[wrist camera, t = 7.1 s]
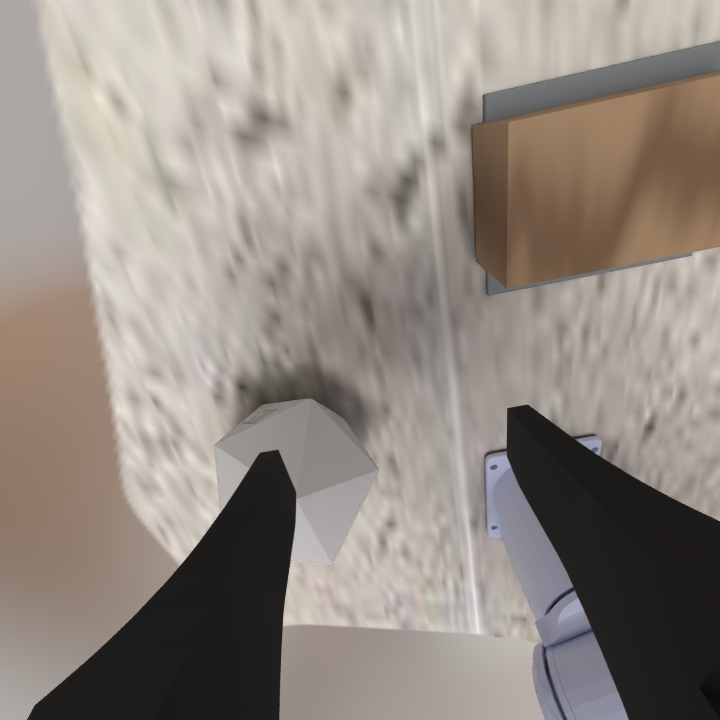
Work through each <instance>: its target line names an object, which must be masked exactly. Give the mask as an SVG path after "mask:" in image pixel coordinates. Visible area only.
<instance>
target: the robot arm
mask: <svg viewBox="0 0 720 720" xmlns="http://www.w3.org/2000/svg"><path fill="white" fill-rule="evenodd" d="M601 447H602V441H601V439H600V438H599V437H597V436H591V437H585V438H579V439H574V438H572V437H571V436H570V435H568V434H567V433H565V432H564V431H563V430H561V429H560V428H559V427H557V426H556V425H555V424H553V423H552V422H551V421H549V420H548V419H546V418H545V417H544V416H542V415H541V414H540V413H538V412H537V411H536V410H534V409H533V408H532V407H530V406H529V405H523V406H517V407H511V408H507V451H504V452H499V453H493V454H489V455H488V456H487V457H486V458H485V478H486V516H487V534H488V537H489V538H492V539H495V538H501V537H502V540H503V542H504V545H505V547H506V550H507V552H508V555H509V557H510V559H511V562H512V564H513V567H514V569H515V572H516V574H517V577H518V579H519V582H520V584H521V587H522V589H523V591H524V594H525V596H526V599H527V601H528V604H529V606H530V608H531V610H532V612H533V614H534V615H535V617H536V618H537V621H536V622H535V625H536V627H537V630H538V632H539V635H540V637H541V640H542V642H541V643H538V644H537V645H536V646H535V648H534V651H533V665H532V673H533V681H534V686H535V691H536V694H537V698H538V701H539V704H540V707H541V710H542V712H543V715H544V718H545V720H720V521H718V520H716V519H714V518H712V517H710V516H707V515H705V514H703V513H701V512H699V511H697V510H695V509H693V508H690V507H688V506H686V505H684V504H682V503H680V502H678V501H676V500H674V499H673V498H671V497H669V496H667V495H665V494H663V493H661V492H659V491H658V490H656V489H654V488H652V487H650V486H648V485H647V484H645V483H643V482H641V481H639V480H638V479H636V478H634V477H632V476H631V475H629V474H627V473H626V472H624V471H622V470H621V469H619V468H618V467H616V466H614V465H613V464H611V463H610V462H608V461H606V460H605V459H603V458H602V457H600V452H601ZM492 465H493V466H492ZM295 525H296V490H295V488H294V486H293V483H292V481H291V478H290V476H289V474H288V471H287V469H286V466H285V464H284V462H283V459H282V457H281V454H280V452H279V450H278V449H277V450H272V451H266V452H261V453H259V454H258V456H257V457H256V459H255V460H254V462H253V464H252V465H251V467H250V468H249V470H248V472H247V473H246V475H245V476H244V478H243V479H242V481H241V483H240V484H239V486H238V487H237V489H236V490H235V492H234V493H233V495H232V496H231V498H230V499H229V501H228V502H227V504H226V505H225V507H224V508H223V510H222V511H221V513H220V514H219V516H218V517H217V519H216V520H215V521H214V523H213V524H212V525H211V527H210V528H209V530H208V531H207V532H206V534H205V535H204V536H203V538H202V539H201V541H200V542H199V543H198V544H197V546H196V547H195V548H194V550H193V551H192V552H191V553H190V555H189V556H188V557H187V558H186V560H185V561H184V562H183V563H182V564H181V565H180V567H179V568H178V569H177V570H176V571H175V573H174V574H173V575H172V576H171V577H170V578H169V579H168V581H167V582H166V583H165V584H164V585H163V586H162V587H161V588H160V589H159V590H158V591H157V592H156V593H155V594H154V596H153V597H152V598H151V599H150V600H149V601H148V602H147V603H146V604H145V605H144V606H143V607H142V608H141V609H140V610H139V612H138V613H137V614H136V615H135V616H134V617H133V618H132V619H131V620H129V621H128V623H126V624H125V626H123V627H122V628H121V629H120V630H119V631H118V632H117V633H116V634H115V635H114V636H113V637H112V638H111V639H110V640H109V641H108V642H107V643H106V644H104V645H103V646H102V647H101V648H100V649H99V650H98V651H97V652H96V653H95V654H94V655H93V656H91V657H90V658H89V659H88V660H87V661H86V662H85V663H84V664H83V665H81V666H80V667H79V668H78V669H77V670H76V671H74V672H73V673H72V674H71V675H70V676H69V677H67V678H66V679H65V680H64V681H63V682H62V683H61V684H59V685H58V686H57V687H56V688H55V689H54V690H52V691H51V692H50V693H49V694H48V695H47V696H45V697H44V698H43V699H42V700H41V701H39V702H38V703H37V704H36V705H35V706H34V708H33V710H32V712H31V713H30V715H29V717H28V719H27V720H279V707H280V703H279V702H280V672H281V646H282V628H283V613H284V603H285V595H286V588H287V581H288V574H289V568H290V561H291V554H292V547H293V540H294V533H295Z"/></svg>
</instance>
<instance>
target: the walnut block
mask: <svg viewBox="0 0 720 720" xmlns="http://www.w3.org/2000/svg"><path fill="white" fill-rule="evenodd" d="M472 135H473V167H474V198H475V230H476V262H478V263H479V264H480V265H481V266H482V267H483V268H484V269H485V270H486V271H487V272H489V273H490V274H491V275H492V276H493V277H494V278H495V279H496V280H497V281H499V282H500V283H501V284H502V285H503V286H504V287H505V288H506V289H508V288H513V287H518V286H523V285H529V284H534V283H539V282H544V281H549V280H554V279H559V278H564V277H569V276H574V275H579V274H584V273H589V272H594V271H599V270H604V269H610V268H615V267H620V266H625V265H630V264H635V263H640V262H645V261H650V260H655V259H660V258H665V257H670V256H675V255H680V254H685V253H690V252H696V251H701V250H706V249H711V248H716V247H720V71H714V72H710V73H705V74H701V75H696V76H692V77H687V78H683V79H678V80H674V81H669V82H665V83H660V84H656V85H651V86H647V87H642V88H638V89H633V90H629V91H624V92H620V93H615V94H611V95H606V96H602V97H597V98H593V99H588V100H584V101H579V102H575V103H570V104H566V105H561V106H557V107H553V108H548V109H544V110H539V111H535V112H530V113H526V114H521V115H517V116H512V117H508V118H503V119H499V120H494V121H490V122H485V123H481V124H476V125H472Z"/></svg>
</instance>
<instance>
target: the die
mask: <svg viewBox="0 0 720 720" xmlns="http://www.w3.org/2000/svg"><path fill="white" fill-rule="evenodd" d="M214 448H215V459H216V469H217V480H218V489H219V498H220V507H221V511H222V510H223V508H224V507H225V505H226V504H227V502H228V501H229V499H230V498H231V496H232V495H233V493H234V492H235V490H236V489H237V487H238V486H239V484H240V483H241V481H242V479H243V478H244V476H245V475H246V473H247V472H248V470H249V468H250V467H251V465H252V464H253V462H254V460H255V459H256V457H257V456H258V454H259V453H261V452H266V451H272V450H277V449H278V450H279V452H280V454H281V457H282V459H283V462H284V464H285V466H286V469H287V471H288V474H289V476H290V478H291V481H292V483H293V486H294V488H295V490H296V525H295V533H294V540H293V547H292V554H291V561H296V562H306V563H316V564H326V565H333V563H334V561H335V559H336V557H337V555H338V553H339V551H340V549H341V547H342V545H343V542H344V540H345V538H346V536H347V534H348V532H349V530H350V528H351V526H352V524H353V522H354V520H355V518H356V516H357V514H358V512H359V510H360V508H361V506H362V504H363V502H364V500H365V498H366V496H367V493H368V491H369V489H370V487H371V485H372V483H373V481H374V479H375V477H376V475H377V473H378V471H379V469H378V467H377V466H376V464H375V463H374V461H373V460H372V458H371V457H370V455H369V454H368V452H367V451H366V450H365V448H364V447H363V445H362V444H361V442H360V441H359V439H358V438H357V436H356V435H355V434H354V432H353V431H352V429H351V428H350V426H349V425H348V423H347V422H346V420H345V419H344V418H343V417H341V416H339V415H338V414H336V413H335V412H333V411H331V410H330V409H328V408H326V407H325V406H323V405H322V404H320V403H318V402H317V401H315V400H313V399H312V398H308V399H300V400H293V401H285V402H277V403H270V404H262V405H261V406H260V407H259V408H257V409H256V410H255V411H254V412H253V413H252V414H250V415H249V416H248V417H247V418H246V419H244V420H243V421H242V422H241V423H240V424H239V425H237V426H236V427H235V428H234V429H233V430H231V431H230V432H229V433H228V434H227V435H225V436H224V437H223V438H222V439H221V440H220V441H218V442H217V443H216V444H215V445H214Z"/></svg>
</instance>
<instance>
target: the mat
mask: <svg viewBox="0 0 720 720" xmlns="http://www.w3.org/2000/svg"><path fill="white" fill-rule="evenodd" d="M714 71H720V42H716V43H711V44H707V45H702V46H698V47H693V48H689V49H685V50H680V51H676V52H671V53H667V54H663V55H658V56H654V57H649V58H645V59H640V60H636V61H632V62H627V63H623V64H618V65H614V66H610V67H605V68H601V69H596V70H592V71H587V72H583V73H579V74H574V75H570V76H565V77H561V78H557V79H552V80H548V81H543V82H539V83H534V84H530V85H526V86H521V87H517V88H512V89H508V90H503V91H499V92H495V93H490V94H486V95H483V118H484V123H485V122H490V121H494V120H499V119H503V118H508V117H512V116H517V115H521V114H526V113H530V112H535V111H539V110H544V109H548V108H553V107H557V106H561V105H566V104H570V103H575V102H579V101H584V100H588V99H593V98H597V97H602V96H606V95H611V94H615V93H620V92H624V91H629V90H633V89H638V88H642V87H647V86H651V85H656V84H660V83H665V82H669V81H674V80H678V79H683V78H687V77H692V76H696V75H701V74H705V73H710V72H714ZM692 253H693V252H690V253H685V254H680V255H675V256H670V257H665V258H660V259H655V260H650V261H645V262H640V263H635V264H630V265H625V266H620V267H615V268H610V269H604V270H599V271H594V272H589V273H584V274H579V275H574V276H569V277H564V278H559V279H554V280H549V281H544V282H539V283H534V284H529V285H523V286H518V287H513V288H508V289H506V288H505V287H504V286H503V285H502V284H501V283H500V282H499V281H497V280H496V279H495V278H494V277H493V276H492V275H491V274H490V273H489V272H487V271H486V289H487V295H488V296H490V295H495V294H500V293H505V292H510V291H515V290H520V289H525V288H530V287H536V286H541V285H546V284H551V283H556V282H561V281H566V280H571V279H576V278H581V277H586V276H591V275H597V274H602V273H607V272H612V271H617V270H622V269H627V268H632V267H637V266H642V265H647V264H653V263H658V262H663V261H668V260H673V259H678V258H683V257H688V256H692Z"/></svg>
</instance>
